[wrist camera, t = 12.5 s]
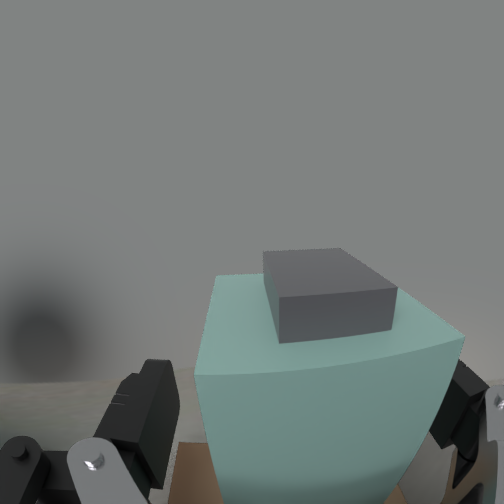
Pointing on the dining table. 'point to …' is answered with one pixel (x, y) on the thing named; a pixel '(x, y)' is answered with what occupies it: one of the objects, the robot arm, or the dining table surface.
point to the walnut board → (212, 478)
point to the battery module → (318, 380)
